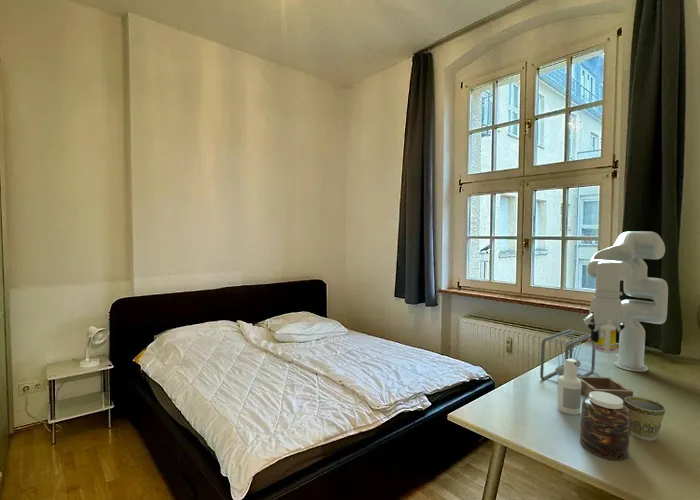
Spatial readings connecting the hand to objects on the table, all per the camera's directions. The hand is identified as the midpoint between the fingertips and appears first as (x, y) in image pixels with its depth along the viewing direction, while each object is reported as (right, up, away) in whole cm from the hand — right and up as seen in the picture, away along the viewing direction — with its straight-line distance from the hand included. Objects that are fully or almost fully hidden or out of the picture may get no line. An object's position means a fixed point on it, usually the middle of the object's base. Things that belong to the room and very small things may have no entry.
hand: (604, 341), depth 143 cm
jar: (-23, -23, -34) cm, 47 cm away
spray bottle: (-20, -22, -11) cm, 31 cm away
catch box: (0, -21, +1) cm, 21 cm away
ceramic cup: (-5, -23, -26) cm, 35 cm away
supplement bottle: (0, -4, 0) cm, 4 cm away
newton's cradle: (-2, -21, +21) cm, 30 cm away
